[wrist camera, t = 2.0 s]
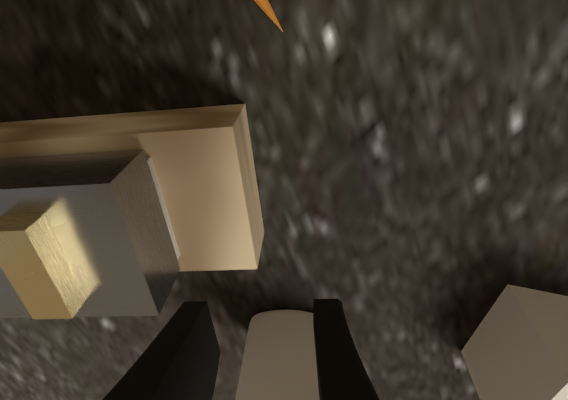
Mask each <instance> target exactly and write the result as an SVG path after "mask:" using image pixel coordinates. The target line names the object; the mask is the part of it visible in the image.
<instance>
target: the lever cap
mask: <svg viewBox="0 0 568 400" xmlns="http://www.w3.org/2000/svg"><path fill="white" fill-rule="evenodd" d="M179 271H180V266H179V263H178V260H177V256H176V253H175V250H174V247H173V243H172V240H171V237H170V234H169V230H168V227H167V224H166V220H165V217H164V214H163V211H162V207H161V204H160V201H159V198H158V194H157V191H156V188H155V185H154V181H153V178H152V175H151V171H150V168H149V165H148V162H147V158H146V155H145V152H144V149H136V150H121V151H106V152H91V153H75V154H60V155H45V156H29V157H14V158H0V318H33V319H73V317H96V316H159V314H160V312H161V310H162V308H163V306H164V303H165V301H166V299H167V297H168V295H169V292H170V290H171V288H172V286H173V284H174V282H175V279H176V277H177V275H178V273H179Z"/></svg>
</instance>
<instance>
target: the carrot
mask: <svg viewBox="0 0 568 400" xmlns="http://www.w3.org/2000/svg"><path fill="white" fill-rule="evenodd" d="M254 1H255V2H256V3H257V4H258V6H259V7H260V8H261V9H262V10H263V11H264V12H265V13H266V14H267V15H268V16H269V18H270V19H271V20H272V21H273V22H274V23H275V24H276V25H277V26H278V27H279V28H280V30H281V31H282V28H281V26H280V24H279V22H278V20H277V18H276V16H275V14H274V11H273V9H272V7H271V5H270V3H269V1H268V0H254ZM282 32H283V31H282Z"/></svg>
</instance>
